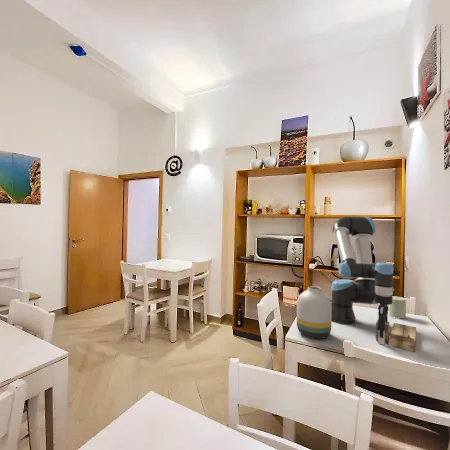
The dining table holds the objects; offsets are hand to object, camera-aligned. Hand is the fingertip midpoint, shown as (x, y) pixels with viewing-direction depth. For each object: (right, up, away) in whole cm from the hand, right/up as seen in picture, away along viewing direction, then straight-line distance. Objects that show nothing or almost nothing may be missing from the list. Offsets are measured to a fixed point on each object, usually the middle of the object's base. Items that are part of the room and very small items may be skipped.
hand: (382, 340), depth 129 cm
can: (+30, -1, +35) cm, 46 cm away
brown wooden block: (+4, 0, -3) cm, 5 cm away
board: (+12, 0, +3) cm, 13 cm away
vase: (-32, 0, +6) cm, 32 cm away
